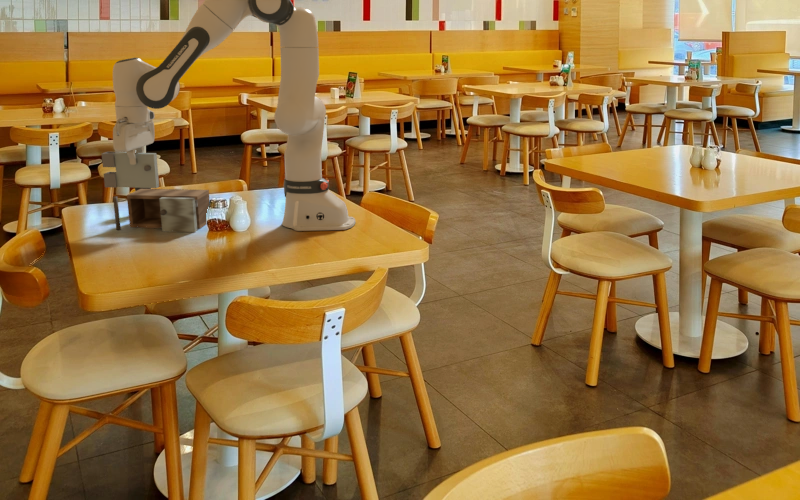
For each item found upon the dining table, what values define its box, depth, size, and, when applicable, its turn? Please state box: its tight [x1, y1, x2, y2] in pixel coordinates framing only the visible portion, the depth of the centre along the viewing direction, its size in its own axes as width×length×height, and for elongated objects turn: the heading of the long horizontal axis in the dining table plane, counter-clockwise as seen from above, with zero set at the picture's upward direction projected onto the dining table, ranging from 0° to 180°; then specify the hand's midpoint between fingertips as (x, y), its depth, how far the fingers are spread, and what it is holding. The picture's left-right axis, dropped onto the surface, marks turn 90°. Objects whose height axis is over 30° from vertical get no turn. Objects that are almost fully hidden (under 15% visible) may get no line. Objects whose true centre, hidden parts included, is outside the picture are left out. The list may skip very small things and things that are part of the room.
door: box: [101, 151, 160, 189], centre depth 230 cm, size 16×4×10 cm, turn 84°
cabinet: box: [112, 188, 211, 233], centre depth 238 cm, size 25×15×10 cm, turn 84°
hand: (136, 163), depth 229 cm, fingers closed on door, 2 cm apart
